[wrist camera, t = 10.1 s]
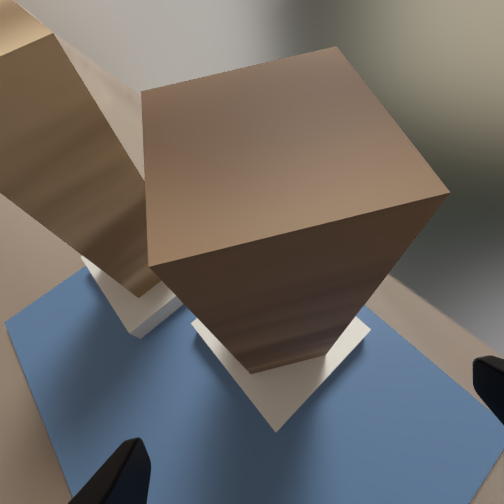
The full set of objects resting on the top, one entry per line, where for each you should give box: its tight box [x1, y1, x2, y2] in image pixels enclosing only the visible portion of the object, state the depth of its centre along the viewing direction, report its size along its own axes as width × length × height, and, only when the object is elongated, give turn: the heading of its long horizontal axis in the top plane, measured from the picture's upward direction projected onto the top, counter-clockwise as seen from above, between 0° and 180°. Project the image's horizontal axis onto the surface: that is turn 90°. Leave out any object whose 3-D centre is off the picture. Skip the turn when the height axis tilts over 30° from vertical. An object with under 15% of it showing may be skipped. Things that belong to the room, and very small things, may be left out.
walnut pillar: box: [141, 47, 450, 374], centre depth 10 cm, size 4×4×12 cm
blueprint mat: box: [5, 256, 504, 504], centre depth 16 cm, size 24×18×2 cm
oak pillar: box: [0, 0, 161, 298], centre depth 13 cm, size 4×4×12 cm
